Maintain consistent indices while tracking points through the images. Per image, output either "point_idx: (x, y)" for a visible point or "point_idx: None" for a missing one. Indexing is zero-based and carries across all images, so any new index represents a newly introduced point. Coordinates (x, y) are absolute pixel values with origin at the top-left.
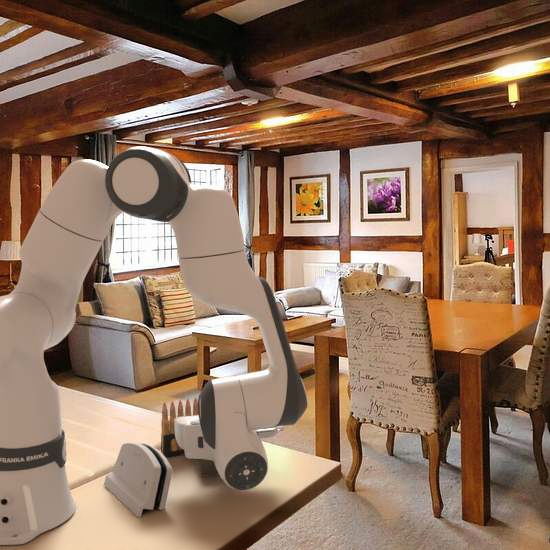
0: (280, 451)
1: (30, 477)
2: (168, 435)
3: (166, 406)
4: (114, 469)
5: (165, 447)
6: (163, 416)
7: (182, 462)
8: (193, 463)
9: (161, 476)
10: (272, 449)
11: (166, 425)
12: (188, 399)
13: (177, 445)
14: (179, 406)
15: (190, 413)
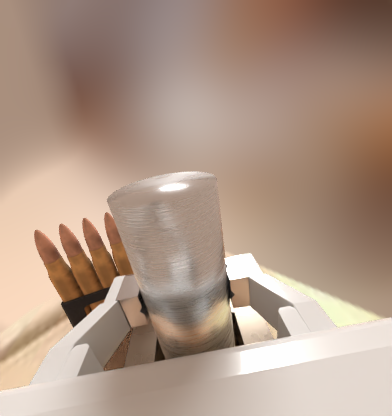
0: (351, 322)
1: None
2: (74, 301)
3: (45, 239)
4: None
5: (76, 323)
6: (44, 264)
7: (108, 370)
8: None
9: None
10: (323, 309)
11: (60, 283)
12: (108, 214)
13: None
14: (85, 234)
15: (121, 245)
